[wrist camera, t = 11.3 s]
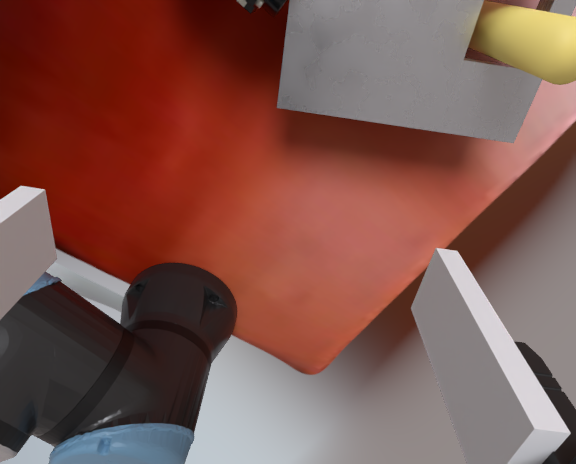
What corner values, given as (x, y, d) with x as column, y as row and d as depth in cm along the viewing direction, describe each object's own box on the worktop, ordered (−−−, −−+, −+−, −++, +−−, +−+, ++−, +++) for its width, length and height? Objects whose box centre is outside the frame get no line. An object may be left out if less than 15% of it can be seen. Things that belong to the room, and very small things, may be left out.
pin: (481, 47, 36) (582, 87, 25) (444, 41, 36) (529, 80, 24) (498, 2, 34) (616, 23, 23) (459, -4, 34) (559, 14, 22)
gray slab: (478, 116, 40) (513, 143, 33) (282, 87, 39) (276, 107, 33) (556, -83, 32) (624, -103, 25) (308, -125, 31) (308, -157, 24)
